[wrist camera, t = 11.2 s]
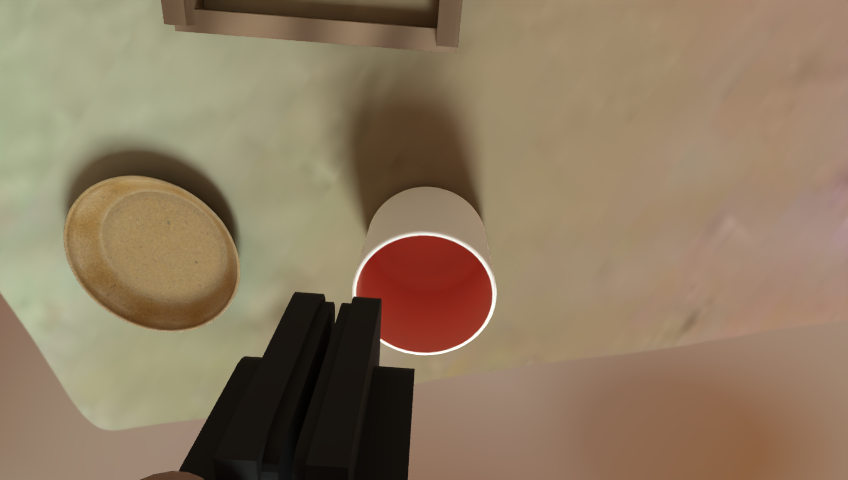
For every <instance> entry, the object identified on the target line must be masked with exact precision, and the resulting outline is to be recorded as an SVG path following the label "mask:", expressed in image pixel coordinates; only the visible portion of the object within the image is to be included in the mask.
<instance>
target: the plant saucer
mask: <svg viewBox="0 0 848 480" xmlns="http://www.w3.org/2000/svg"><path fill="white" fill-rule="evenodd" d="M63 238H64V248H65V252H66V257H67V260H68V263H69V265H70V268H71V270H72V272H73V274H74V275H75V277H76V279H77V281H78V282H79V283H80V285H81V286H82V287H83V289H84V290H85V291H86V292H87V293H88V295H89V296H90V297H91V298H92V299H93V300H94V301H95V302H96V303H98V304H99V305H100V306H101V307H102V308H104V309H105V310H107V311H108V312H110V313H111V314H113V315H114V316H116V317H118V318H119V319H121V320H123V321H125V322H127V323H130V324H132V325H135V326H138V327H141V328H145V329H148V330H153V331H159V332H183V331H189V330H193V329H197V328H200V327H203V326H205V325H207V324H209V323H211V322H213V321H214V320H216V319H217V318H219V317H220V316H221V315H222V314H223V313H224V312H225V311H226V310H227V309H228V307H229V306H230V305H231V303H232V301H233V300H234V298H235V296H236V293H237V290H238V287H239V282H240V261H239V256H238V252H237V249H236V246H235V243H234V241H233V239H232V237H231V235H230V233H229V231H228V229H227V228H226V226H225V225H224V223H223V222H222V221H221V219H220V218H219V217H218V216H217V215H216V214H215V212H214V211H213V210H212V209H211V208H210V207H209V206H207V205H206V204H205V203H204V202H203V201H201V200H200V199H199V198H197V197H196V196H195V195H193V194H191V193H190V192H188V191H186V190H185V189H183V188H181V187H179V186H176V185H174V184H172V183H169V182H166V181H163V180H160V179H156V178H151V177H146V176H136V175H127V176H118V177H113V178H109V179H106V180H103V181H100V182H98V183H96V184H95V185H93V186H91V187H89V188H88V189H87V190H85V191H84V192H83V193H82V194H81V195H80V196H79V197H78V198H77V199H76V200H75V202H74V203H73V205H72V206H71V208H70V210H69V212H68V214H67V218H66V221H65V226H64V237H63Z"/></svg>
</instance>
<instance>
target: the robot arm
mask: <svg viewBox="0 0 848 480" xmlns="http://www.w3.org/2000/svg"><path fill="white" fill-rule="evenodd" d="M381 313H382V299H381V298H368V297H355V296H354V297H353V299H352V303H351V304H350V303H342V304H341V307H340V310H339V313H338V316H337V320H336V323H335V304H334V302H325V296H324V294H315V293H302V292H295V293H294V294H293V296H292V298H291V300H290V302H289V304H288V306H287V308H286V310H285V312H284V314H283V316H282V318H281V320H280V323H279V325H278V327H277V329H276V331H275V333H274V335H273V337H272V339H271V341H270V343H269V345H268V347H267V349H266V351H265V353H264V355H263V357H262V358H261V357H248V356H245V357H243V358H242V359H241V360H240V361H239V363H238V364H237V366H236V368H235V370H234V371H233V373H232V375H231V377H230V379H229V381H228V382H227V384H226V386H225V388H224V390H223V391H222V393H221V395H220V397H219V399H218V401H217V402H216V404H215V406H214V408H213V410H212V411H211V413H210V415H209V417H208V419H207V420H206V422H205V424H204V426H203V428H202V430H201V431H200V433H199V435H198V437H197V439H196V441H195V442H194V444H193V446H192V448H191V449H190V451H189V453H188V455H187V457H186V459H185V460H184V462H183V464H182V466H181V468H180V470H179V471H169V472H164V473H158V474H153V475H151V476H148V477H146V478H143V479H141V480H408V465H409V449H410V432H411V418H412V402H413V386H414V369H409V368H395V367H382V366H379V358H380V335H381Z"/></svg>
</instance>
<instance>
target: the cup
mask: <svg viewBox="0 0 848 480" xmlns="http://www.w3.org/2000/svg"><path fill="white" fill-rule="evenodd" d="M354 296H355V297H368V298H381V299H382V313H381V335H380V342H382V343H384V344H385V345H387V346H389V347H391V348H393V349H396V350H399V351H402V352H406V353H410V354H417V355H434V354H441V353H445V352H449V351H452V350H455V349H457V348H459V347H461V346H463V345H465V344H467V343H468V342H470V341H471V340H473V339H474V338H475V337H476V336H477V335H478V334H479V333H480V332H481V331H482V330H483V329H484V328H485V326H486V325H487V323H488V322H489V320H490V318H491V316H492V314H493V311H494V308H495V304H496V297H497V290H496V282H495V277H494V272H493V267H492V263H491V258H490V253H489V248H488V243H487V238H486V233H485V229H484V226H483V223H482V221H481V219H480V217H479V215H478V214H477V212H476V211H475V209H474V208H473V207H472V206H471V205H470V204H469V203H468V202H467V201H466V200H464V199H463V198H462V197H460V196H459V195H457V194H455V193H453V192H450V191H448V190H445V189H441V188H436V187H417V188H411V189H408V190H405V191H402V192H400V193H398V194H396V195H394V196H393V197H391V198H390V199H388V200H387V201H386V202H385V203H384V204H383V205H382V206H381V207H380V208H379V209H378V211H377V212H376V213H375V215H374V217H373V219H372V221H371V223H370V226H369V229H368V233H367V236H366V239H365V242H364V246H363V249H362V252H361V256H360V259H359V262H358V266H357V269H356V272H355V276H354V279H353V285H352V298H353V297H354Z"/></svg>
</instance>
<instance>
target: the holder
mask: <svg viewBox="0 0 848 480" xmlns="http://www.w3.org/2000/svg"><path fill="white" fill-rule="evenodd" d="M161 3H162V11H163V18H164V24H169V25H175V31H183V32H196V33H208V34H221V35H234V36H246V37H259V38H271V39H284V40H296V41H309V42H321V43H334V44H347V45H359V46H372V47H384V48H397V49H409V50H422V51H435V52H447V53H457V48H458V42H459V31H460V21H461V10H462V0H439V12H438V25H437V28H433V27H420V26H408V25H395V24H383V23H370V22H358V21H345V20H333V19H320V18H308V17H295V16H283V15H270V14H258V13H245V12H233V11H220V10H208V9H203V3H202V0H161Z"/></svg>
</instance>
